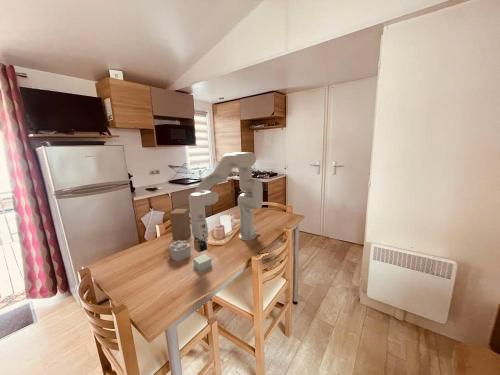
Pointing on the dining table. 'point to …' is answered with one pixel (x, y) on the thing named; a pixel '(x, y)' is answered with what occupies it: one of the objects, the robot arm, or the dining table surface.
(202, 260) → the base block
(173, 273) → the dining table surface
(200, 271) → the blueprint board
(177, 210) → the wooden block
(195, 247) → the walnut cube
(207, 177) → the robot arm
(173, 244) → the lumpy-topped squat cylinder
